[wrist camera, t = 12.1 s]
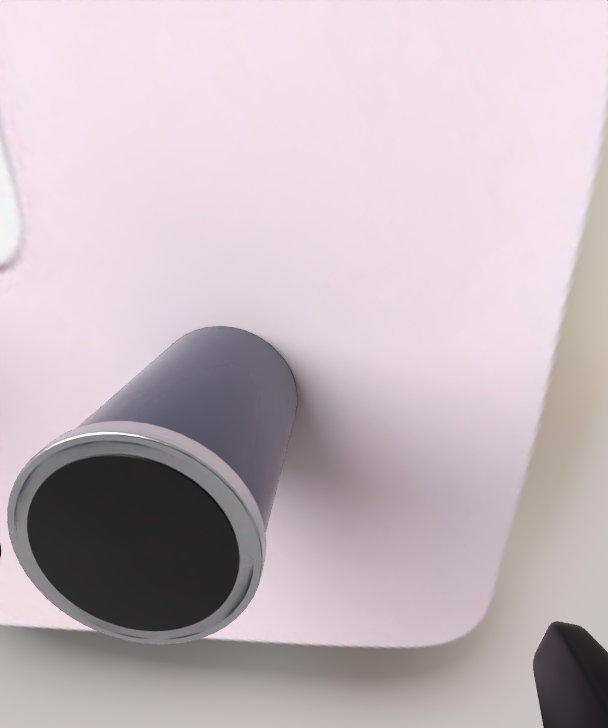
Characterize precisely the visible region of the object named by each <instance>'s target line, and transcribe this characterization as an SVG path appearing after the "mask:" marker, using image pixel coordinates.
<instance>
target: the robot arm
mask: <svg viewBox="0 0 608 728" xmlns="http://www.w3.org/2000/svg"><path fill="white" fill-rule="evenodd" d="M0 557H1V545H0ZM533 668H534V669H533V670H534V676H535V682H536V688H537V692H538V698H539V704H540V709H541V715H542V721H543V726H544V728H608V653H607V651H606V650H605V649H604V648H603V647H602V646H601V645H600V644H599V643H598V642H597V641H596V640H595V639H594V638H593V637H592V636H591V635H590V634H589V633H588V632H587V631H586V630H585V629H584V628H582V627H580V626H578V625H573V624H569V623H563V622H558V621H557V622H553V623H552V624H550V626H549V627H548V629H547V631H546V633H545V635H544V637H543V639H542V641H541V643H540V645H539V647H538V649H537V651H536V653H535V656H534V661H533Z"/></svg>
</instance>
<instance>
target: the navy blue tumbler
mask: <svg viewBox="0 0 608 728" xmlns="http://www.w3.org/2000/svg"><path fill="white" fill-rule="evenodd" d="M296 408H297V390H296V385H295V381H294V378H293V375H292V373H291V371H290V369H289V367H288V365H287V364H286V362H285V361H284V359H283V358H282V357H281V355H280V354H279V353H278V352H277V351H276V350H275V349H274V348H273V347H272V346H271V345H270V344H268V343H267V342H265V341H264V340H263V339H261V338H259V337H257V336H256V335H254V334H252V333H249V332H247V331H244V330H241V329H237V328H232V327H224V326H219V327H207V328H202V329H198V330H195V331H193V332H190V333H188V334H186V335H184V336H183V337H181V338H180V339H178V340H177V341H176V342H175V343H174V344H172V345H171V346H170V347H169V348H168V349H167V350H166V351H164V352H163V353H162V354H161V355H160V356H159V357H158V358H156V359H155V360H154V361H153V362H152V363H151V364H150V365H148V366H147V367H146V368H145V369H144V370H143V371H142V372H140V373H139V374H138V375H137V376H136V377H135V378H133V379H132V380H131V381H130V382H129V383H128V384H127V385H125V386H124V387H123V388H122V389H121V390H120V391H119V392H117V393H116V394H115V395H114V396H113V397H112V398H111V399H109V400H108V401H107V402H106V403H105V404H104V405H103V406H101V407H100V408H99V409H98V410H97V411H96V412H95V413H93V414H92V415H91V416H90V417H89V418H88V419H87V420H85V421H84V422H83V423H82V424H81V425H80V426H79V427H77V428H76V429H74V430H71V431H69V432H66V433H64V434H63V435H61V436H59V437H58V438H56V439H54V440H53V441H52V442H51V443H49V444H48V445H47V446H46V447H45V448H43V449H42V450H41V451H40V452H39V453H38V454H36V455H35V456H34V457H33V458H32V459H31V460H30V461H29V462H28V463H27V464H26V466H25V467H24V468H23V469H22V470H21V472H20V474H19V476H18V477H17V479H16V481H15V483H14V486H13V489H12V492H11V494H10V498H9V504H8V529H9V535H10V539H11V542H12V546H13V549H14V552H15V554H16V556H17V558H18V560H19V562H20V564H21V566H22V568H23V569H24V571H25V572H26V574H27V576H28V577H29V578H30V580H31V581H32V582H33V583H34V585H35V586H36V587H37V588H38V589H39V590H40V592H41V593H42V594H43V595H44V596H45V597H46V598H47V599H48V600H50V601H51V602H52V603H53V604H54V605H55V606H57V607H58V608H59V609H60V610H62V611H63V612H65V613H66V614H67V615H69V616H70V617H72V618H73V619H75V620H77V621H79V622H80V623H82V624H84V625H86V626H88V627H90V628H92V629H94V630H97V631H99V632H102V633H104V634H107V635H110V636H113V637H116V638H120V639H124V640H128V641H133V642H139V643H147V644H148V643H149V644H175V643H182V642H188V641H192V640H196V639H200V638H203V637H206V636H208V635H210V634H213V633H215V632H217V631H219V630H220V629H222V628H224V627H226V626H227V625H228V624H230V623H231V622H232V621H233V620H235V619H236V618H237V617H238V616H239V615H240V614H241V613H242V612H243V611H244V610H245V608H246V607H247V606H248V604H249V603H250V601H251V600H252V598H253V597H254V595H255V592H256V590H257V588H258V586H259V582H260V578H261V575H262V570H263V566H264V562H265V556H266V534H265V533H266V529H267V525H268V521H269V517H270V513H271V509H272V505H273V501H274V497H275V493H276V489H277V485H278V481H279V477H280V473H281V469H282V465H283V461H284V457H285V453H286V449H287V445H288V441H289V437H290V433H291V429H292V425H293V421H294V417H295V413H296Z"/></svg>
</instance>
